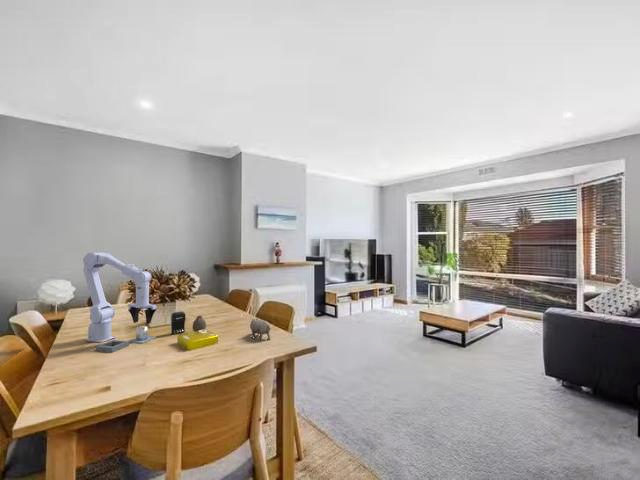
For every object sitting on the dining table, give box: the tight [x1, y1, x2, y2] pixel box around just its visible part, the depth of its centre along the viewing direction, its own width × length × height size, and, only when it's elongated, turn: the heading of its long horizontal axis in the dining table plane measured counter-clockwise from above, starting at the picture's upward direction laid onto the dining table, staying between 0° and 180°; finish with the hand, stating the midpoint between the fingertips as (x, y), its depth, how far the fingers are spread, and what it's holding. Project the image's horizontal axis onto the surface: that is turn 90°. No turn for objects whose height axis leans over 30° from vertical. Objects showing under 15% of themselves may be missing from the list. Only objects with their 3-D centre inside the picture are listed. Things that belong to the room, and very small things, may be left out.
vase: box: [192, 315, 207, 332], centre depth 166 cm, size 7×7×9 cm
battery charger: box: [170, 310, 187, 335], centre depth 165 cm, size 7×4×11 cm, turn 132°
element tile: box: [177, 328, 219, 351], centre depth 149 cm, size 15×15×5 cm
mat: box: [128, 335, 158, 345], centre depth 153 cm, size 9×9×1 cm
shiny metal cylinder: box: [135, 325, 149, 341], centre depth 153 cm, size 5×5×6 cm
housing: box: [95, 339, 130, 353], centre depth 141 cm, size 9×9×2 cm
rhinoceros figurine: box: [249, 317, 271, 340], centre depth 158 cm, size 8×14×15 cm
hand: (142, 322), depth 153 cm, fingers open, 7 cm apart
